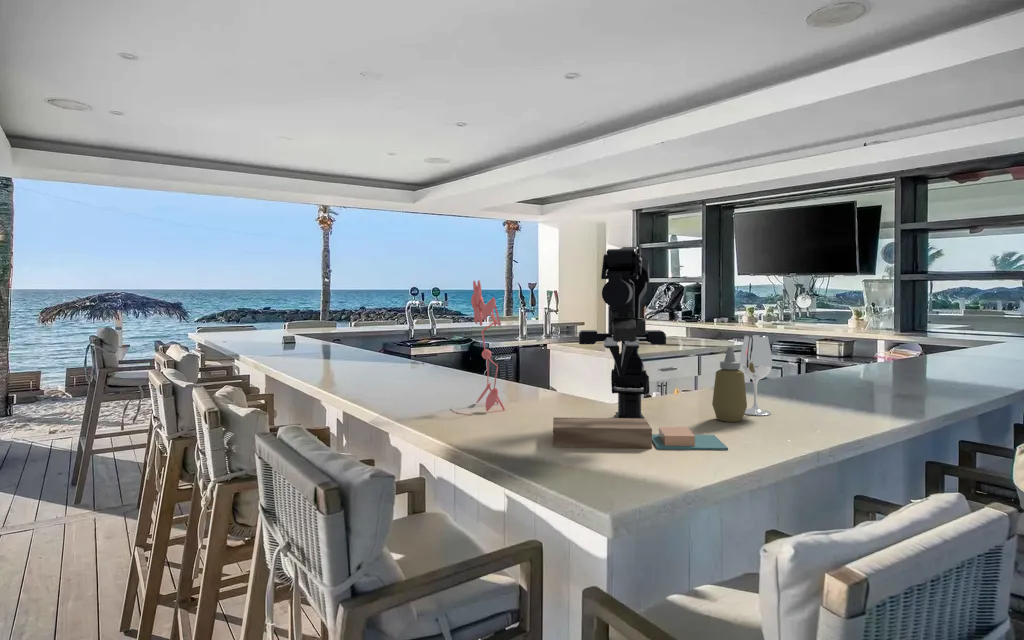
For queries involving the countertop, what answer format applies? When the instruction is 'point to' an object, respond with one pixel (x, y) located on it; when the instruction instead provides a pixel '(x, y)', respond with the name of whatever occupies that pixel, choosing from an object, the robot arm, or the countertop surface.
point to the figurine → (484, 312)
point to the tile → (676, 436)
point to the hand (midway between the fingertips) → (621, 376)
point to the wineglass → (756, 365)
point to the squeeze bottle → (729, 390)
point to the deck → (602, 432)
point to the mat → (700, 443)
